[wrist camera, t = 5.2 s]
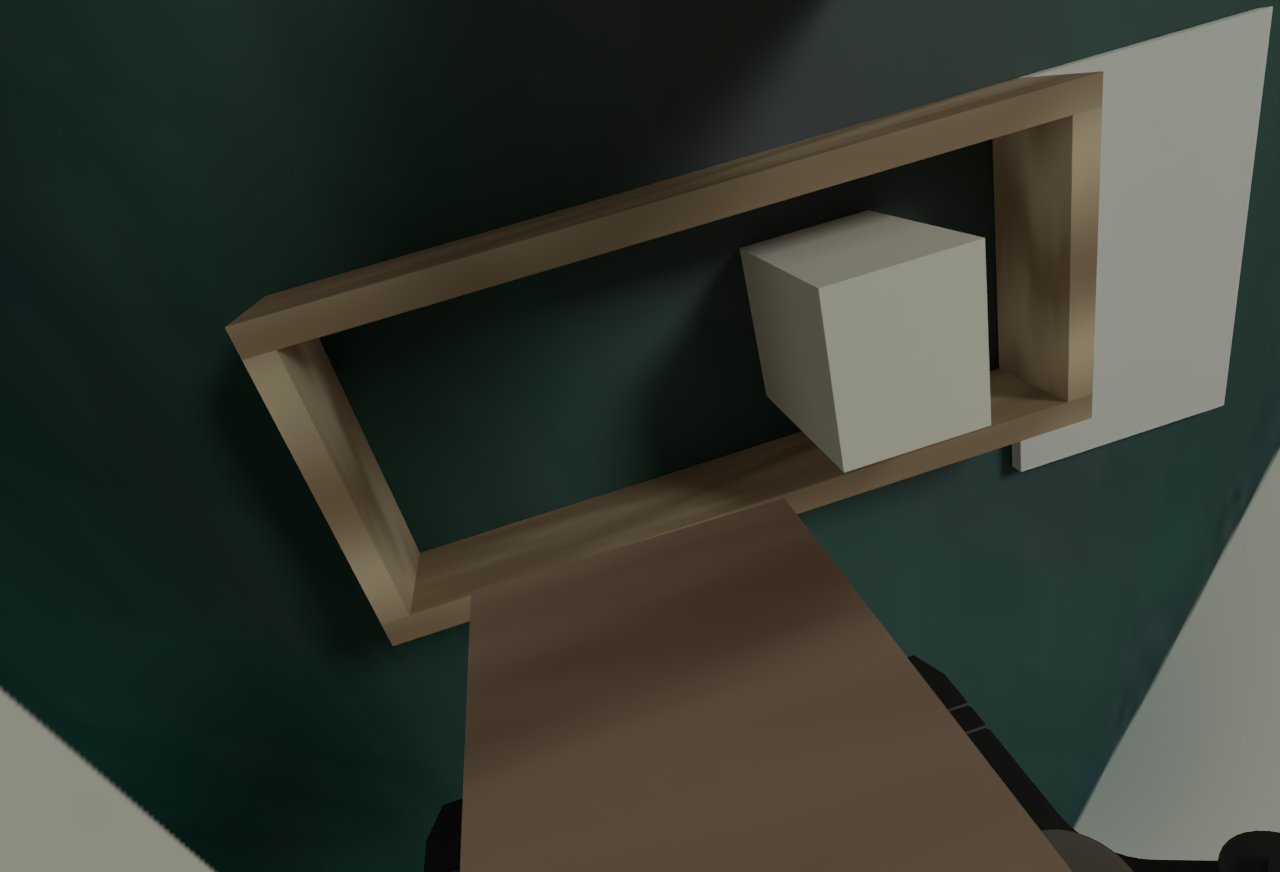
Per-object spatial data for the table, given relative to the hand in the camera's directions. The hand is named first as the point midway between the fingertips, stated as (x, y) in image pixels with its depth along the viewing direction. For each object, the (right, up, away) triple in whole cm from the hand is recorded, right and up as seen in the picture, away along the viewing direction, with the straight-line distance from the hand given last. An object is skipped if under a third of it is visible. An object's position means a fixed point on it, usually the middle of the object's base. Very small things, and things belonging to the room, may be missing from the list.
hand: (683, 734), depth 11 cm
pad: (+19, +12, +18) cm, 29 cm away
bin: (+1, +8, +16) cm, 18 cm away
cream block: (+6, +10, +16) cm, 20 cm away
